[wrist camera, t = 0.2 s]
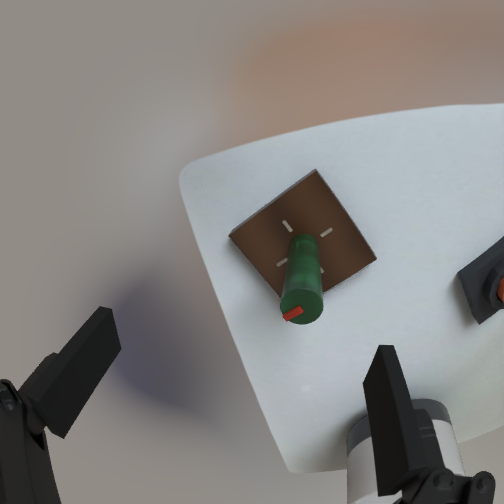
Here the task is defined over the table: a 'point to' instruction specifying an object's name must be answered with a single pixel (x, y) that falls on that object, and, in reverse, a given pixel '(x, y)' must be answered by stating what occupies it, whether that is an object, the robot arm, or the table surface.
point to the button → (501, 290)
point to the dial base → (303, 222)
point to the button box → (484, 282)
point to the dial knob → (302, 282)
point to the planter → (362, 458)
